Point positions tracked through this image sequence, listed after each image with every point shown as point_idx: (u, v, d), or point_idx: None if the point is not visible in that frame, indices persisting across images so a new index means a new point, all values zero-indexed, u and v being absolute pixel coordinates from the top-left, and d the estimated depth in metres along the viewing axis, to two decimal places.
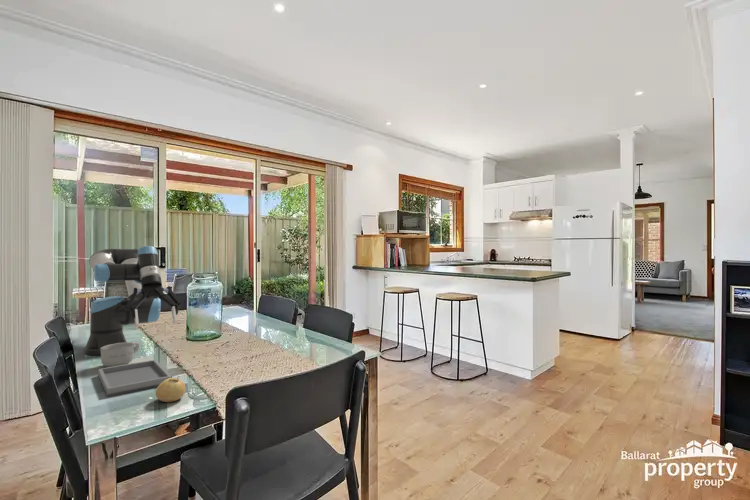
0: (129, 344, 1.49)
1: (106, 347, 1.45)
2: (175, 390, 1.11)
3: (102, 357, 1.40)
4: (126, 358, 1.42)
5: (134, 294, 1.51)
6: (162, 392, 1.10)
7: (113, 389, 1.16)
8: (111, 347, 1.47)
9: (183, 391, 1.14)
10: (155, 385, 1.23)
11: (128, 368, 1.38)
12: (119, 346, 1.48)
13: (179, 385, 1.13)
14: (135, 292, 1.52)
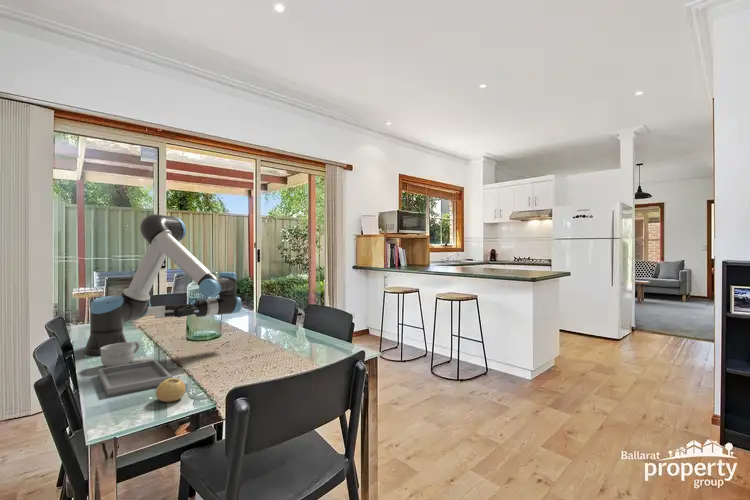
0: (129, 344, 1.49)
1: (106, 347, 1.45)
2: (175, 390, 1.11)
3: (102, 357, 1.40)
4: (126, 358, 1.42)
5: None
6: (162, 392, 1.10)
7: (113, 389, 1.16)
8: (111, 347, 1.47)
9: (183, 391, 1.14)
10: (155, 385, 1.23)
11: (128, 368, 1.38)
12: (119, 346, 1.48)
13: (179, 385, 1.13)
14: None
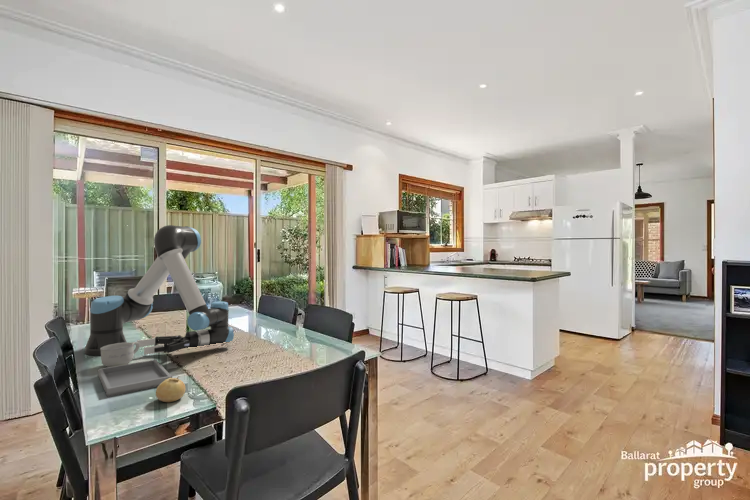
0: (129, 344, 1.49)
1: (106, 347, 1.45)
2: (175, 390, 1.11)
3: (102, 357, 1.40)
4: (126, 358, 1.42)
5: None
6: (162, 392, 1.10)
7: (113, 389, 1.16)
8: (111, 347, 1.47)
9: (183, 391, 1.14)
10: (155, 385, 1.23)
11: (128, 368, 1.38)
12: (119, 346, 1.48)
13: (179, 385, 1.13)
14: None
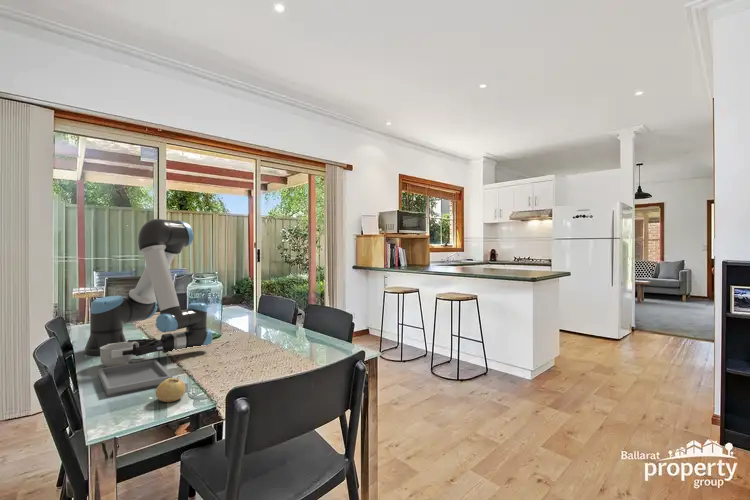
0: (129, 344, 1.49)
1: (106, 347, 1.45)
2: (175, 390, 1.11)
3: (101, 357, 1.40)
4: (125, 358, 1.42)
5: None
6: (162, 392, 1.10)
7: (113, 389, 1.16)
8: (111, 347, 1.47)
9: (183, 391, 1.14)
10: (155, 385, 1.23)
11: (128, 368, 1.38)
12: (119, 346, 1.49)
13: (179, 385, 1.13)
14: None
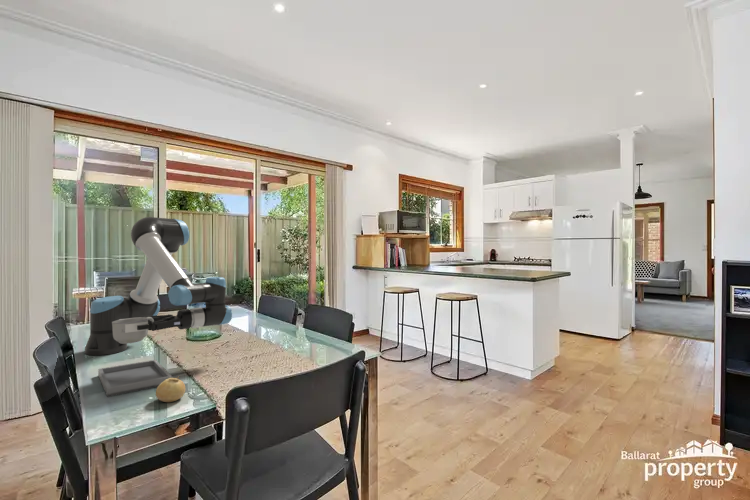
0: (143, 319, 1.36)
1: (118, 322, 1.32)
2: (175, 390, 1.11)
3: (114, 331, 1.27)
4: (140, 333, 1.29)
5: None
6: (162, 392, 1.10)
7: (113, 389, 1.16)
8: (123, 322, 1.34)
9: (183, 391, 1.14)
10: (155, 385, 1.23)
11: (128, 368, 1.38)
12: (132, 321, 1.36)
13: (179, 385, 1.13)
14: None
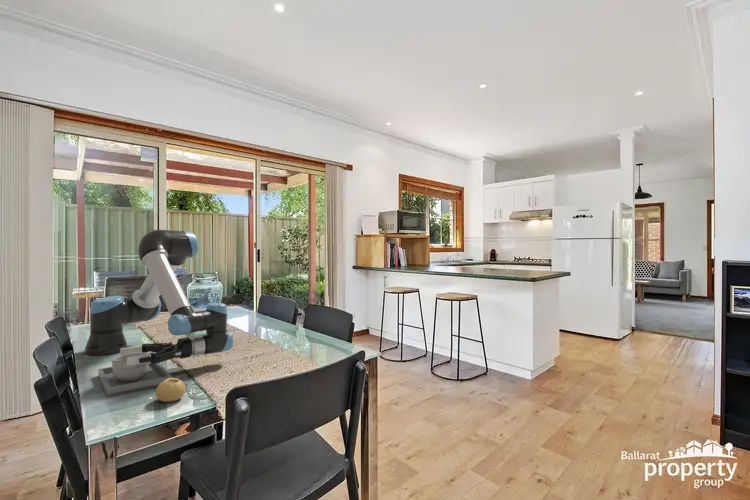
0: (143, 354, 1.33)
1: (118, 358, 1.29)
2: (175, 390, 1.11)
3: (114, 370, 1.24)
4: (140, 371, 1.26)
5: None
6: (161, 392, 1.10)
7: (113, 389, 1.16)
8: (124, 358, 1.31)
9: (183, 391, 1.14)
10: (155, 385, 1.23)
11: None
12: (132, 356, 1.33)
13: (179, 385, 1.13)
14: None
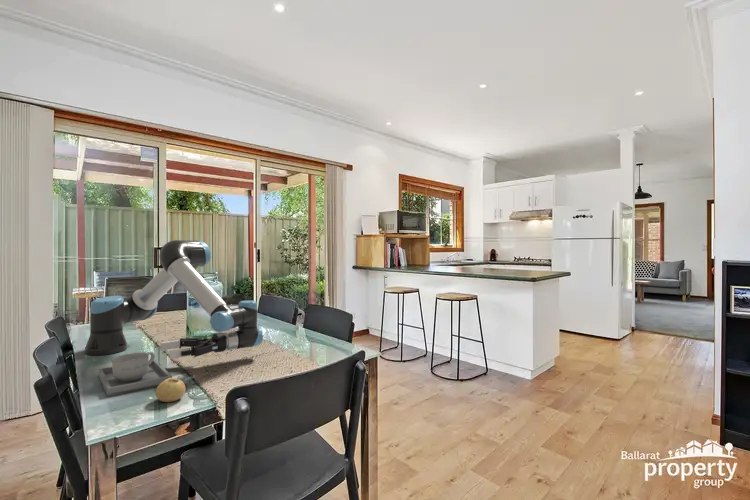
0: (143, 354, 1.33)
1: (118, 358, 1.29)
2: (175, 390, 1.11)
3: (114, 370, 1.24)
4: (140, 371, 1.26)
5: None
6: (161, 392, 1.10)
7: (113, 389, 1.16)
8: (124, 358, 1.31)
9: (183, 391, 1.14)
10: (155, 385, 1.23)
11: None
12: (132, 356, 1.33)
13: (179, 385, 1.13)
14: None
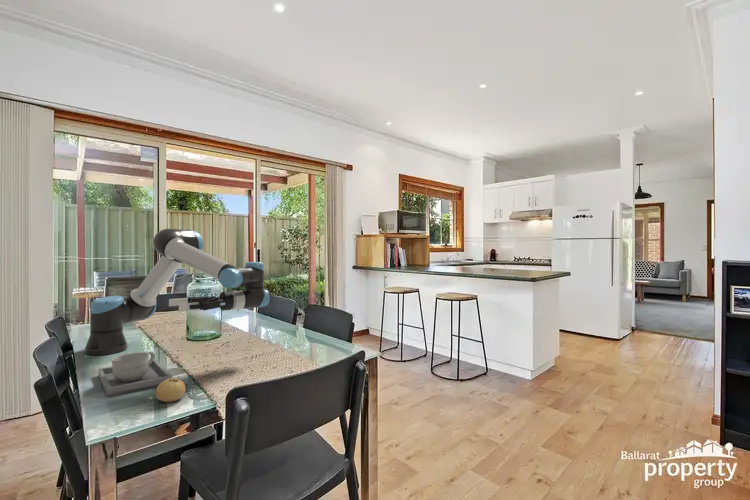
0: (143, 354, 1.33)
1: (118, 358, 1.29)
2: (175, 390, 1.11)
3: (114, 370, 1.24)
4: (140, 371, 1.26)
5: None
6: (161, 392, 1.10)
7: (113, 389, 1.16)
8: (124, 358, 1.31)
9: (183, 391, 1.14)
10: (155, 385, 1.23)
11: None
12: (132, 356, 1.33)
13: (179, 385, 1.13)
14: None
